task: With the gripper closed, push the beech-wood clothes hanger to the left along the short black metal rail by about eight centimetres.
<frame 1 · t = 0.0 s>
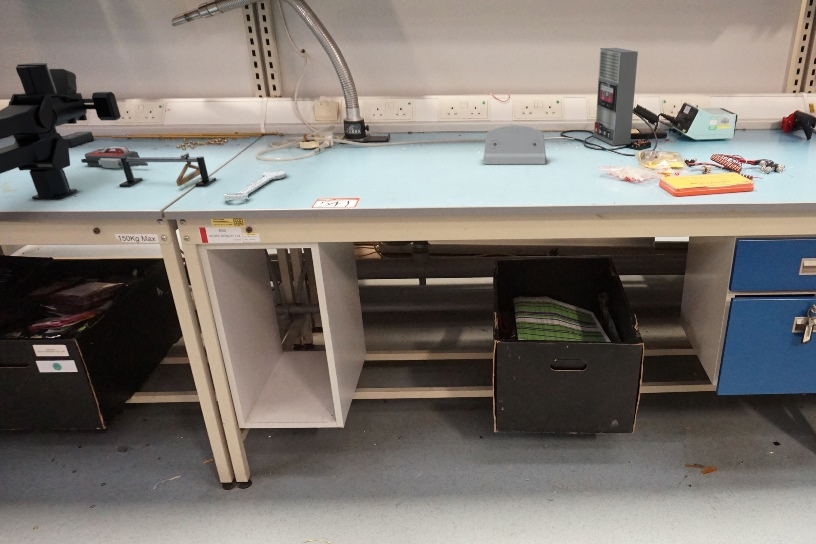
hand: (96, 100, 158), 17 cm above the table, tool horizontal, fingers open, 9 cm apart
red grey toy car: (122, 166, 168), on the table
wrench: (257, 189, 148), on the table
hanger: (187, 166, 150), point 4 cm above the table, slide at 0.0 cm
cassette tape recorder: (611, 141, 192), on the table
grey arched block: (514, 161, 170), on the table
clothes rail: (168, 183, 152), on the table
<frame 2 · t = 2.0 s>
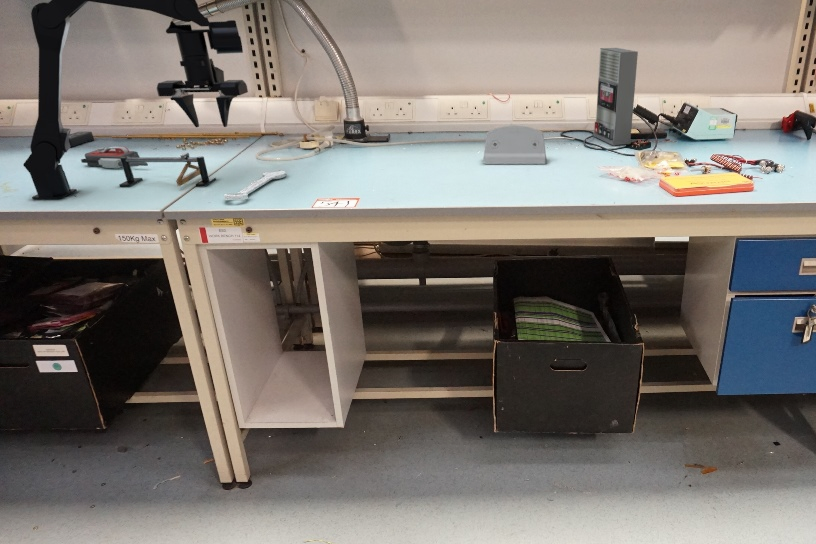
hand: (211, 126, 151), 12 cm above the table, tool pointing down, fingers open, 6 cm apart
nothing on the table moved.
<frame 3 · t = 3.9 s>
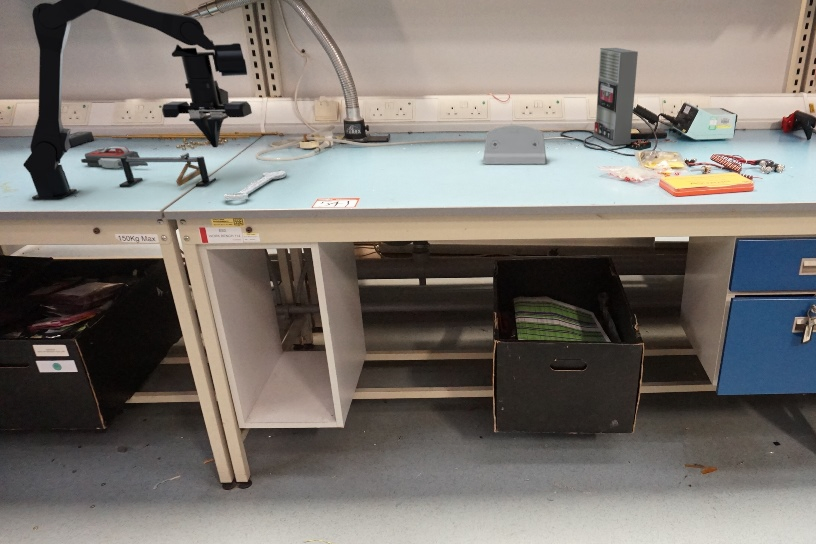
hand: (215, 147, 153), 7 cm above the table, tool pointing down, fingers closed
nothing on the table moved.
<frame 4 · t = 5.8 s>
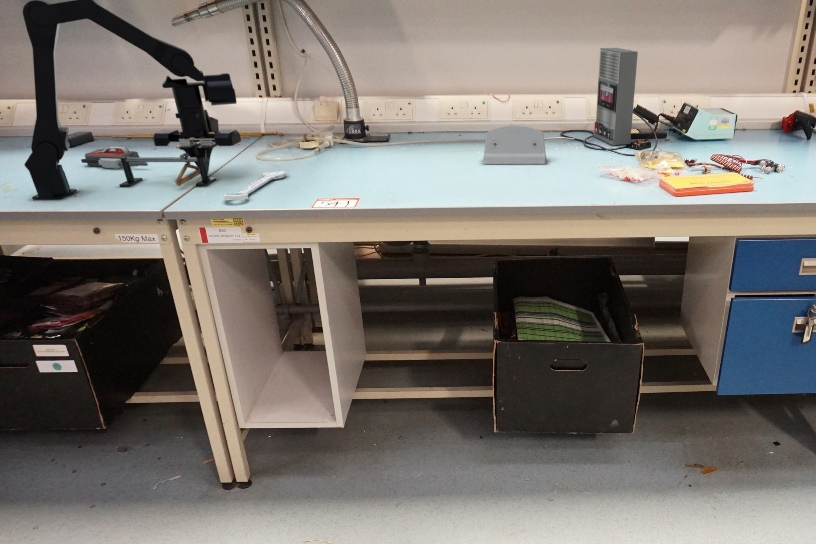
hand: (205, 173, 156), 1 cm above the table, tool pointing down, fingers closed
hanger: (186, 166, 150), point 4 cm above the table, slide at 0.2 cm, touching gripper
everything else where it was.
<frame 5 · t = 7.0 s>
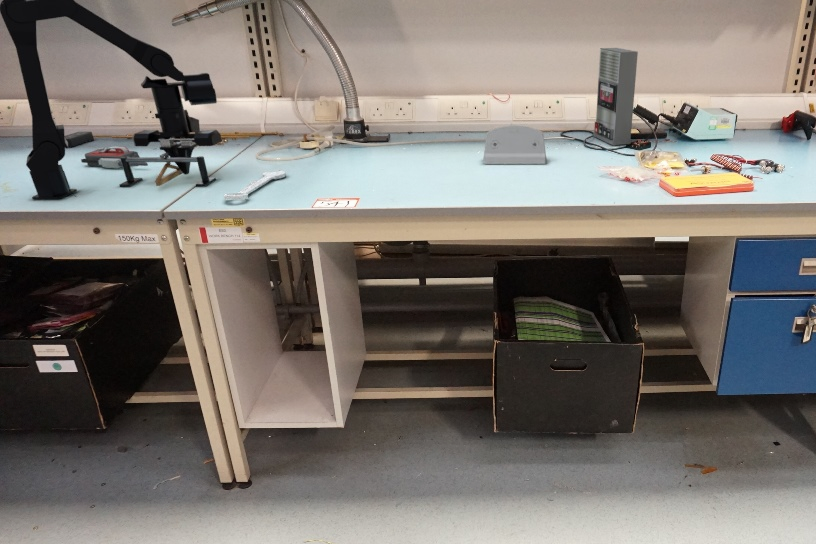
hand: (186, 174, 156), 1 cm above the table, tool pointing down, fingers closed
hanger: (167, 166, 151), point 4 cm above the table, slide at 4.9 cm, touching gripper
everything else where it was.
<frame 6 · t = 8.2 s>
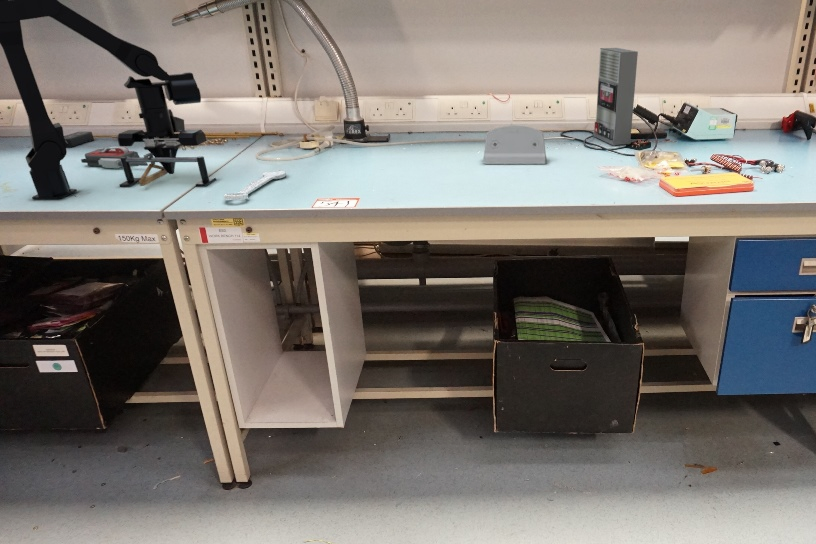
hand: (171, 173, 156), 1 cm above the table, tool pointing down, fingers closed
hanger: (151, 166, 151), point 4 cm above the table, slide at 8.6 cm, touching gripper
everything else where it was.
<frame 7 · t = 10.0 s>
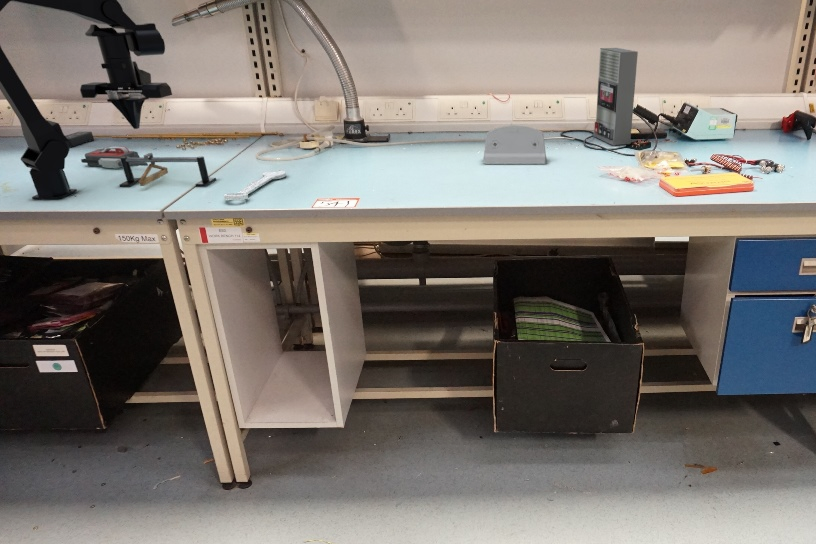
hand: (136, 128, 153), 11 cm above the table, tool pointing down, fingers closed
hanger: (151, 166, 151), point 4 cm above the table, slide at 8.6 cm
everything else where it was.
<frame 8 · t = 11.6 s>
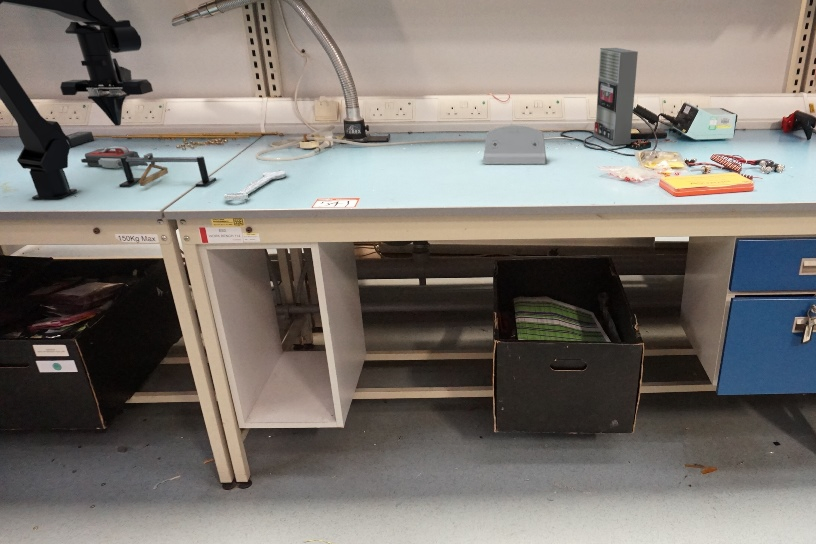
hand: (118, 125, 154), 12 cm above the table, tool pointing down, fingers closed
nothing on the table moved.
at the end: hanger slide at 8.6 cm; the gripper is holding nothing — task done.
